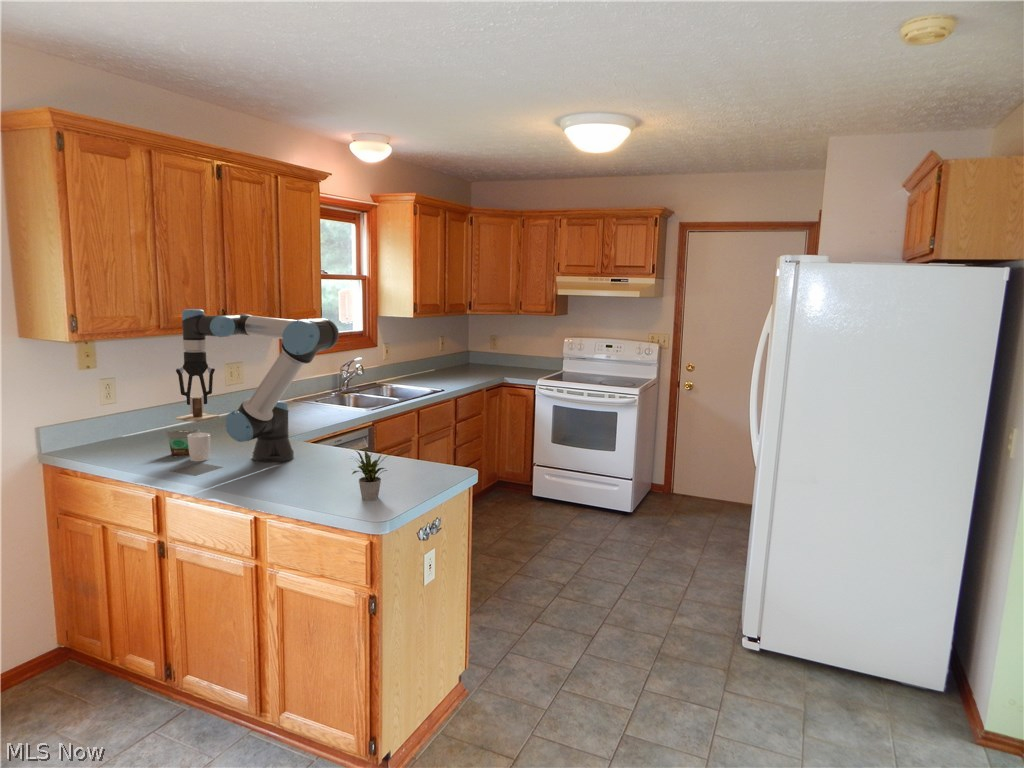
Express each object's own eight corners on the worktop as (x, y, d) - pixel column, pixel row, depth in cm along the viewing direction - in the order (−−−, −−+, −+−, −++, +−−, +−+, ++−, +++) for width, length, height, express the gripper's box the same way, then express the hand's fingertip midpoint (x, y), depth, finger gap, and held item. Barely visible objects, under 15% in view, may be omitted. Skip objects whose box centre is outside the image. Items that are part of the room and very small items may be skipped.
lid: (219, 417, 251) (218, 397, 250) (197, 422, 242) (196, 401, 241) (198, 414, 255) (197, 394, 254) (175, 419, 246) (174, 399, 244)
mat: (223, 468, 241) (223, 467, 241) (195, 477, 230) (195, 475, 230) (198, 464, 246) (198, 462, 246) (169, 472, 235) (169, 471, 234)
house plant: (334, 498, 211) (333, 449, 209) (364, 488, 223) (364, 441, 221) (367, 507, 204) (367, 456, 202) (396, 496, 216) (397, 447, 213)
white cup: (185, 460, 251) (184, 434, 250) (206, 456, 257) (205, 431, 255) (192, 464, 246) (191, 438, 244) (214, 460, 251) (213, 435, 250)
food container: (163, 458, 253) (162, 433, 251) (167, 454, 259) (166, 429, 257) (198, 457, 256) (197, 431, 254) (201, 453, 262) (200, 428, 260)
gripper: (218, 349, 251) (221, 410, 255) (171, 350, 245) (174, 412, 248) (218, 351, 244) (221, 413, 248) (169, 352, 238) (172, 416, 242)
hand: (197, 412), depth 248 cm, fingers closed on lid, 3 cm apart
